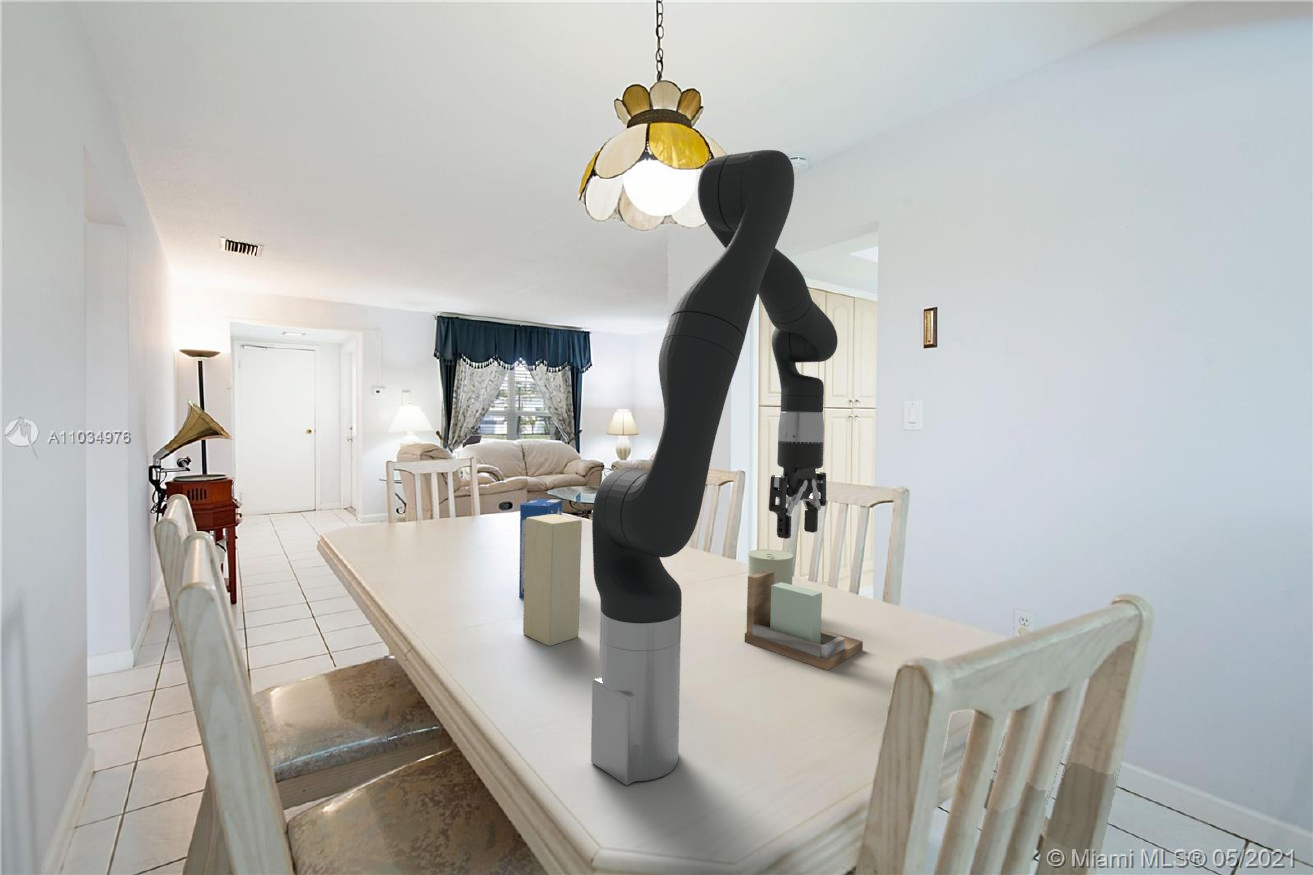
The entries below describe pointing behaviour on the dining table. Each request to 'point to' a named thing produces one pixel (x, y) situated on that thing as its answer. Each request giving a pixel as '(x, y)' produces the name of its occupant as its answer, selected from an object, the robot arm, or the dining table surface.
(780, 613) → the door panel
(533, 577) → the tall beige block
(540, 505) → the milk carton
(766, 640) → the track base
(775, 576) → the can
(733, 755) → the dining table surface
